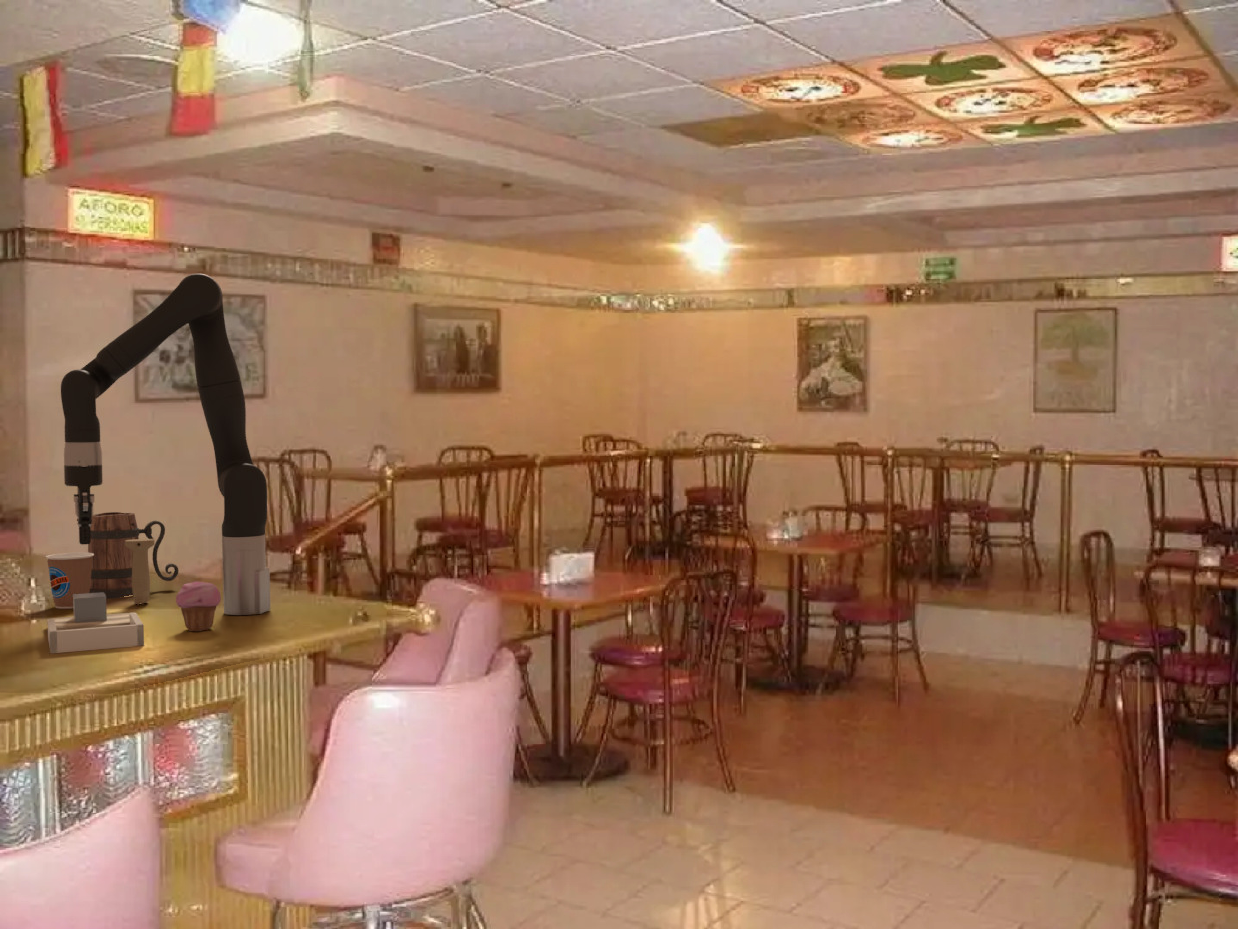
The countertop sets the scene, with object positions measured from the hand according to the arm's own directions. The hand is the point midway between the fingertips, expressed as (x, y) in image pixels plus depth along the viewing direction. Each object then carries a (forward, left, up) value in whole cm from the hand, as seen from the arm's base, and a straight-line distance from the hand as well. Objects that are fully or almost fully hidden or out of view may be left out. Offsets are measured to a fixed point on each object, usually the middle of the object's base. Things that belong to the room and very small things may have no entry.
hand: (85, 544), depth 273 cm
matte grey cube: (-6, +10, -15) cm, 19 cm away
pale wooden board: (-7, +11, -17) cm, 21 cm away
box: (-14, +24, -17) cm, 33 cm away
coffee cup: (+15, -20, -17) cm, 30 cm away
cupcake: (-29, +10, -17) cm, 35 cm away
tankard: (+12, -42, -17) cm, 47 cm away
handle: (0, -24, -17) cm, 29 cm away
